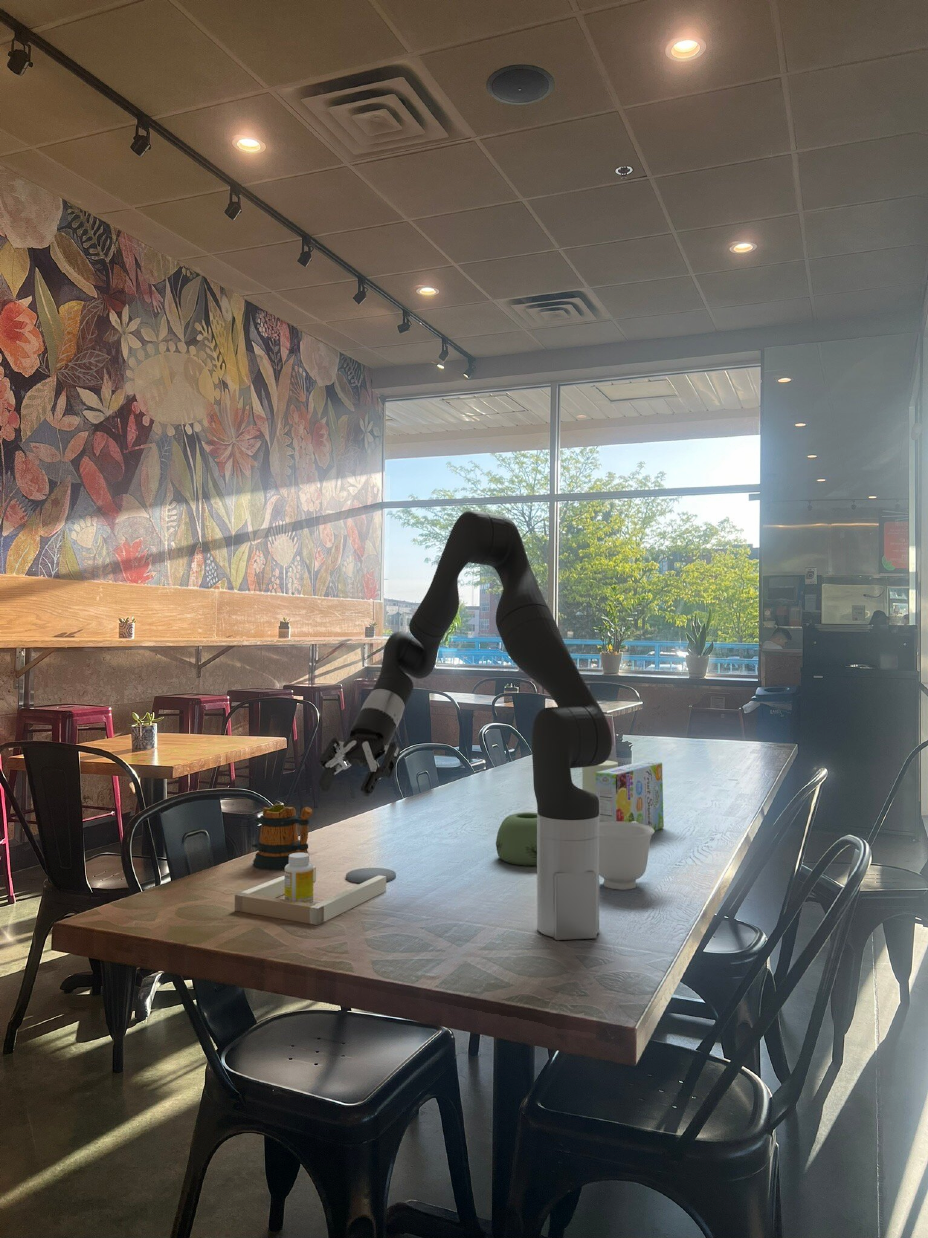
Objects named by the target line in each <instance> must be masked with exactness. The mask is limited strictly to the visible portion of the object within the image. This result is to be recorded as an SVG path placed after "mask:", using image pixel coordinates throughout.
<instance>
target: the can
mask: <svg viewBox="0 0 928 1238" xmlns="http://www.w3.org/2000/svg"><path fill="white" fill-rule="evenodd" d="M616 767H619V763H618V761H613V760H606V761H605V762H604V763H602V764H600V765H596V766H590V767H581V769H582V773H581V776H582V780H581V781H582V784H581V785H582V787H581V789H582V790H586V791H589V792H592V793H594V794H595V795H596V772H599V771H604V770H608V769H612V768H616Z"/></svg>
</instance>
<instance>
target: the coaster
mask: <svg viewBox="0 0 928 1238" xmlns="http://www.w3.org/2000/svg"><path fill="white" fill-rule="evenodd" d="M378 875H380V876H386V883H389V882H391V881H394V880H395V879H396V878H397V873H396V872H395V871H394V870H392V869H388V868H383V867H363V868H356V869H352V870H350V871H348V872H347V873H346V874H345V879H346V881H348V882H351V883H354V884H361V883H363V882H365V881H367V880H370V879H372V878H374V877H376V876H378Z"/></svg>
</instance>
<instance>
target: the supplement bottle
mask: <svg viewBox="0 0 928 1238" xmlns="http://www.w3.org/2000/svg"><path fill="white" fill-rule="evenodd" d="M308 853H309V852H308ZM308 853H293V854H290V855H289V864H287V865H286V866H285V870H284V875H285V894H284V899H285V900H291V901H297V902H304V903H310V904H314V882H313V866H314V865H313V864H312V863H311V862H310V853H309V854H308Z"/></svg>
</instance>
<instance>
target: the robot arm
mask: <svg viewBox="0 0 928 1238" xmlns="http://www.w3.org/2000/svg"><path fill="white" fill-rule="evenodd" d="M468 563H471V564H477V565H483V566H484V565H485V566H489V567H492V568H493V569H494V570H495V571H496V574H497V575H498V577H499V579H500V582H501V586H502V592H501V596H500V599H499V600H498V604H497V608H496V612H495V613H496V614H495V625H496V628H497V631H498V634H499V636H500V638H501V641H502V644H503V646H504V648H505V651H506V653H507V655H508V656H509V658H510V659H511V661H512V662H513V663H514V664H515V665H516V666H517V667H518V669H520V670H521V671H523V673H525V674H526V675H527V676H528V677H529V678H531V679H532V680H533V681H535V682H536V684H538V685H539V686H541V688H543V689H544V690H545V692H547V693H548V695H549V696H550V697H551V698H552V700H553V701H554V703H555V704H556V706H549V707H544V708H542V709H540V710H539V711H538V712H537V714H536V715H535V718H534V720H533V723H532V728H531V729H532V730H531V755H532V757H531V759H532V775H533V779H532V783H533V791H534V796H535V800H536V809H537V811H536V813H537V865H536V907H537V908H536V910H537V912H536V918H537V919H536V927H537V931H538V932H539V933H541V934H543V935H545V936H548V937H551V938H553V939H554V940H555V941H561V940H564V941H565V940H584V939H585V940H586V939H597V938H598V937H597V934H599V933H600V875H599V799H598V797H597V796H596V795H595V794H594V793H592V792H589V791H586V790H582V788H579V787H578V786H577V785H575V784H574V782H573V780H572V772H571V771H572V769H580V768H581V769H582V767H590V766H596V765H600V764H602V763H604V762H605V761H608V759H609V757H610V755H611V753H612V748H613V747H612V746H613V738H612V731H611V727H610V724H609V722H608V719H607V718H606V715H605V714H604V712H603V709H602V708H601V706H600V705H599V703H598V701H597V700H596V698H595V696H594V694H593V693H592V691H591V689H590V688H589V686H588V685H587V683H586V681H585V680H584V678H583V676H582V674H581V672H580V671H579V670H578V667H577V665H576V663H575V661H574V659H573V657H572V656H571V653H570V651H569V650H568V647H567V644H566V642H565V641H564V639H563V636H562V634H561V632H560V629H559V627H558V624H557V622H556V620H555V618H554V615H553V614H552V611H551V609H550V608H549V606H548V603H547V602H546V600H545V598H544V596H543V594H542V590H541V589H540V587H539V584H538V581H537V580H536V577H535V575H534V572H533V569H532V567H531V564H530V561H529V558H528V555H527V551H526V548H525V546H524V542H523V539H522V536H521V534H520V531H519V529H518V527H517V525H516V523H515V522H514V521H513V520H512V519H511V518H509V517H508V516H505V515H501V514H496V513H492V512H485V511H481V510H467V511H464V512H463V513H461V514H460V516H459V517H458V518H457V519H456V521H455V522H454V524H453V527H452V528H451V531H450V533H449V536H448V537H447V540H446V542H445V546H444V549H443V551H442V553H441V556H440V559H439V560H438V564H437V567H436V570H435V573H434V574H433V578H432V580H431V583H430V585H429V587H428V589H427V592H426V593H425V595H424V597H423V599H422V601H421V602H420V604H419V606H418V607H417V609H416V611H415V612H414V613H413V615H412V617H411V619H410V620H409V623H408V629H409V632H410V634H409V633H407V632H405V631H397V632H394V633H392V634H391V635H390V636H389V637H388V639H387V640H386V643H385V645H384V648H383V655H382V662H381V668H380V672H379V676H378V678H377V680H376V682H375V684H374V686H373V688H372V689H371V692H370V693H369V695H368V696H367V698H366V699H365V701H364V702H363V704H362V706H361V709H360V710H359V712H358V715H357V716H356V718H355V720H354V722H353V724H352V725H351V728H350V733H349V734H350V735H349V737H348V738H347V739H346V740H345V741H341V740H340V741H339V739H338V738H337V737H333V738H331V740H330V741H329V743H328V745H327V746H326V748H325V750H324V751H323V754H322V755H321V757H320V758H319V760H318V763H319V766H320V767H321V768H322V770H323V773H322V775H321V777H320V778H319V781H318V785H319V788H320V789H321V790H322V791H323V792H326V793H327V792H328V791H330V788H331V787H332V784H333V782H334V780H335V778H336V774H339V772H341V771H342V770H343V771H344V770H347V769H349V768H350V767H351V766H352V767H359V766H360V767H362V768H367V767H368V766H369V769H370V770H369V771H370V772H367V774H366V776H365V778H364V780H363V782H362V784H361V786H360V792H361V794H362V795H363V797H369V796H370V795H371V794H372V793H373V792H374V791H375V788H376V786H377V783H378V782H379V780H381V779H382V778H387V779H388V778H391V777H392V776H393V773H394V771H395V768H396V765H397V762H398V761H399V758H400V754H401V750H400V749H399V747H398V745H397V743H396V742H391V741H392V739H393V737H394V735H395V732H396V731H397V729H398V726H399V724H400V722H401V720H402V717H403V715H404V710H405V708H406V706H407V704H408V701H409V700H410V697H411V696H412V693H413V690H414V682H413V680H412V679H411V678H410V677H412V678H415V679H416V680H417V679H419V680H420V679H424V678H426V677H428V676H430V675H431V673H432V672H433V670H434V668H435V665H436V661H437V657H438V653H439V649H440V645H441V642H442V640H443V638H444V636H445V634H446V633H447V632H448V630H449V628H450V627H451V625H452V624H453V622H454V620H455V619H456V616H457V614H458V612H459V609H460V608H459V605H460V598H459V597H460V595H459V586H458V585H459V584H458V582H459V580H458V579H459V576H460V574H461V572H462V570H463V569H464V568H465V567H466V566H467V565H468ZM383 756H384V757H383ZM344 757H345V759H346V761H344V760H343V758H344ZM382 757H383V760H382V762H381V765H380V763H379V759H380V758H382Z"/></svg>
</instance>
